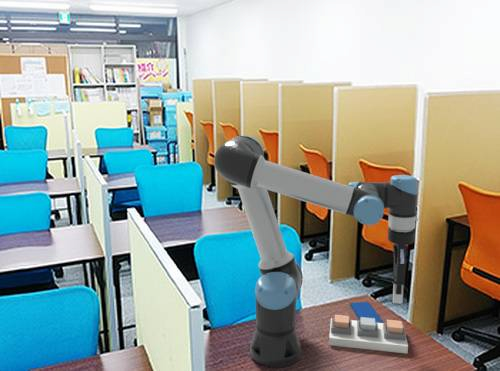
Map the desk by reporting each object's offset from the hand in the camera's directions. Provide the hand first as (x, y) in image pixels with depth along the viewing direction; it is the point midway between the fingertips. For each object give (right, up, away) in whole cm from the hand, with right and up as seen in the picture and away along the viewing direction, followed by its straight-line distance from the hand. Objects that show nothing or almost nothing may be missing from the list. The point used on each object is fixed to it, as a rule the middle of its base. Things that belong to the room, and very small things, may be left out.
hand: (397, 302), depth 141 cm
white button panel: (-8, -13, +5) cm, 16 cm away
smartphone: (-5, -10, +20) cm, 23 cm away
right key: (0, -9, +2) cm, 9 cm away
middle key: (-8, -9, +4) cm, 13 cm away
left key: (-16, -9, +6) cm, 19 cm away
